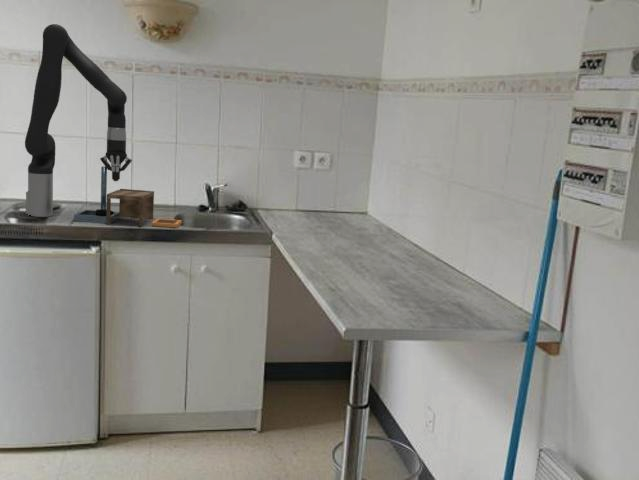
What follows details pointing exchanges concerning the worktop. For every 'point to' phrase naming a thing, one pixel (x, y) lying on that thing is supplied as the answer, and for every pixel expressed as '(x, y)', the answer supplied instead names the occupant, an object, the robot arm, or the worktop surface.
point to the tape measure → (102, 212)
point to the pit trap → (166, 223)
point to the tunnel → (132, 204)
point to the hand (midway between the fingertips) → (115, 180)
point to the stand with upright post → (90, 214)
